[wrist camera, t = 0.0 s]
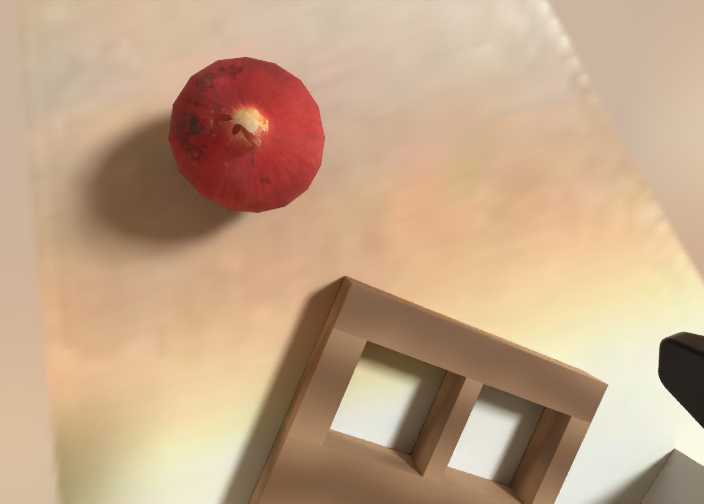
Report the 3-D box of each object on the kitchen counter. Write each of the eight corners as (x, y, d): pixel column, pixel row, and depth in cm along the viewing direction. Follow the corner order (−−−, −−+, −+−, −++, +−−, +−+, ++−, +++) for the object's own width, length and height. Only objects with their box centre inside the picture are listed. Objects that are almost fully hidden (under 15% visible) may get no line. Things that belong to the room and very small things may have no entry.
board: (491, 572, 27) (508, 602, 25) (246, 507, 24) (245, 535, 22) (582, 370, 26) (608, 384, 24) (345, 275, 23) (352, 283, 21)
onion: (180, 199, 21) (130, 202, 14) (195, 71, 21) (152, -2, 13) (305, 217, 22) (325, 229, 15) (322, 96, 22) (352, 43, 14)
